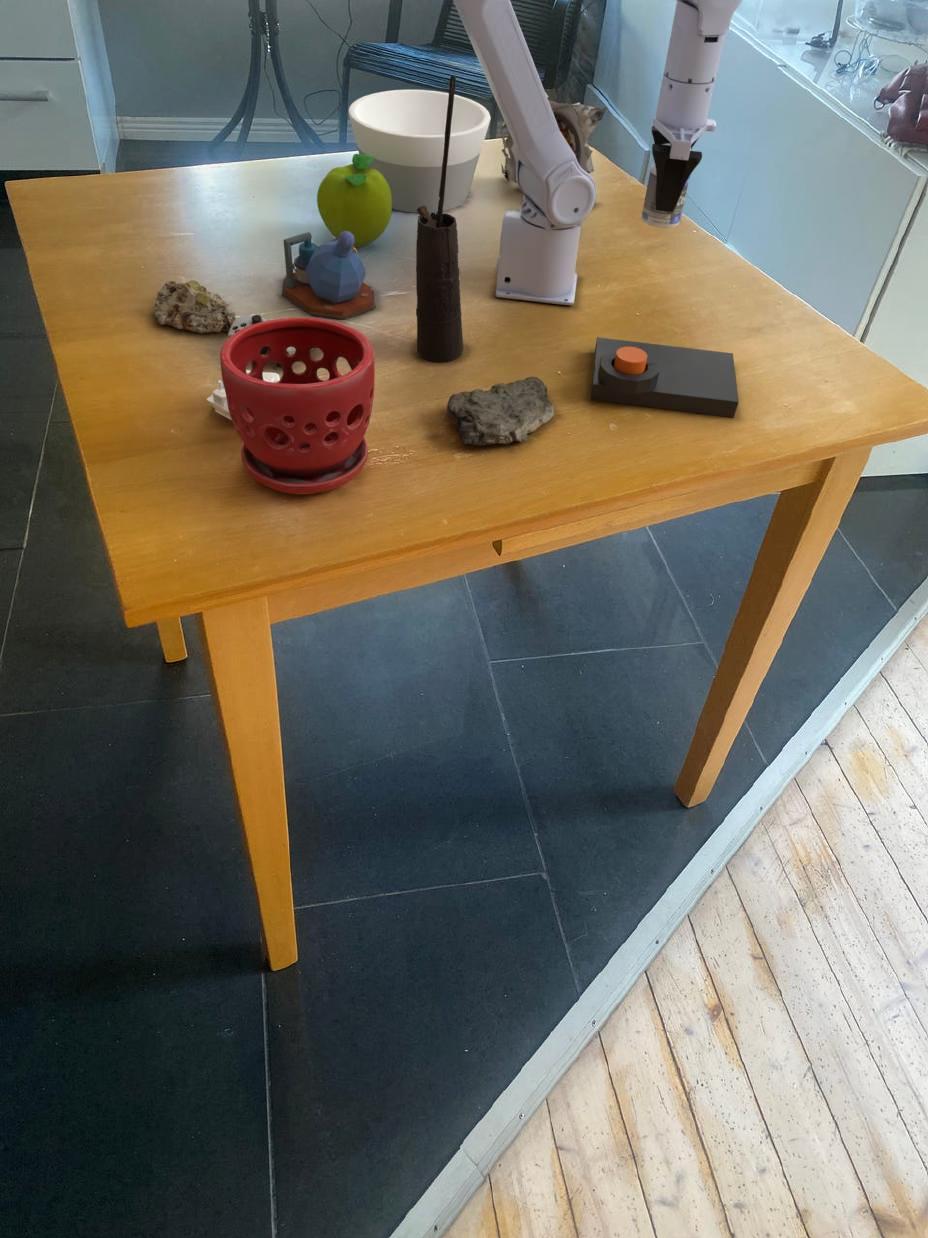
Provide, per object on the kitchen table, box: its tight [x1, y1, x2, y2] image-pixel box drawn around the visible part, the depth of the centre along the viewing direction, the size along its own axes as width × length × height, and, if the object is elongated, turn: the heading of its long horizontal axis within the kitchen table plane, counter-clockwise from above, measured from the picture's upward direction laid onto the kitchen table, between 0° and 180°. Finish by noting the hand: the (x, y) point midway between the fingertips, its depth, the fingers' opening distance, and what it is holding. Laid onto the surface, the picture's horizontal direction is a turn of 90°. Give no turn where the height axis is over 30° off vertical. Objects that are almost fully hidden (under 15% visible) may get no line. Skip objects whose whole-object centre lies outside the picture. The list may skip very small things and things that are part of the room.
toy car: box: [206, 369, 281, 421], centre depth 94 cm, size 5×8×4 cm, turn 142°
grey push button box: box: [590, 336, 740, 418], centre depth 101 cm, size 15×11×4 cm
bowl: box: [348, 89, 491, 214], centre depth 132 cm, size 19×19×11 cm
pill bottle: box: [641, 144, 693, 229], centre depth 113 cm, size 5×5×8 cm
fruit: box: [316, 153, 393, 248], centre depth 120 cm, size 9×9×10 cm
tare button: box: [614, 347, 647, 375], centre depth 98 cm, size 3×3×2 cm
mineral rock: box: [154, 279, 236, 334], centre depth 106 cm, size 11×4×8 cm
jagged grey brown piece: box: [500, 91, 607, 206], centre depth 133 cm, size 15×4×13 cm, turn 54°
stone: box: [446, 376, 555, 446], centre depth 94 cm, size 14×8×3 cm, turn 123°
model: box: [281, 231, 377, 321], centre depth 109 cm, size 12×9×9 cm
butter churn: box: [415, 74, 464, 363], centre depth 96 cm, size 9×10×28 cm
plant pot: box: [219, 316, 376, 495], centre depth 85 cm, size 13×13×12 cm
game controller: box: [227, 314, 316, 368], centre depth 102 cm, size 10×5×6 cm
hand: (664, 201), depth 114 cm, fingers closed on pill bottle, 5 cm apart
